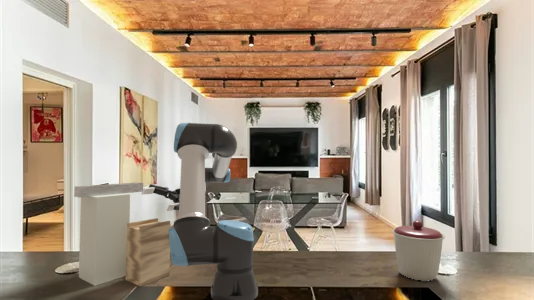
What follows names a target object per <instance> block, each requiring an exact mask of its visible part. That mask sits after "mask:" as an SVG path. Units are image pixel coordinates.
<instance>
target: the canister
mask: <svg viewBox="0 0 534 300" xmlns="http://www.w3.org/2000/svg"><path fill="white" fill-rule="evenodd" d="M391 232H392V234H393V236H394V237H393V238H394V247H395V256H396V265H397V269H398V271H399V273H400V274H401V275H402V276H403V275H404V277H405V276H406V277H405V278H407V277H408V279H409V278H411V279H410V280H413V279H414V280H413V281H417V280H421V281H420V282H429V281H428V280H431V281H434V280H435V279H437V278H438V274H439V272H440V264H441V256H442V249H443V242H444V241H443V240H444V239H445V238H446V236H445V235H444V234H443V233H441V232H440V231H439V230H437V229H434V228H430V227H427V226H426V227H425V226H424V223H423V222H422V221H420V220H414V221H413V222H412V225H399V226H397V227H396V228H393V229H392V230H391ZM433 279H434V280H433Z"/></svg>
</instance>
